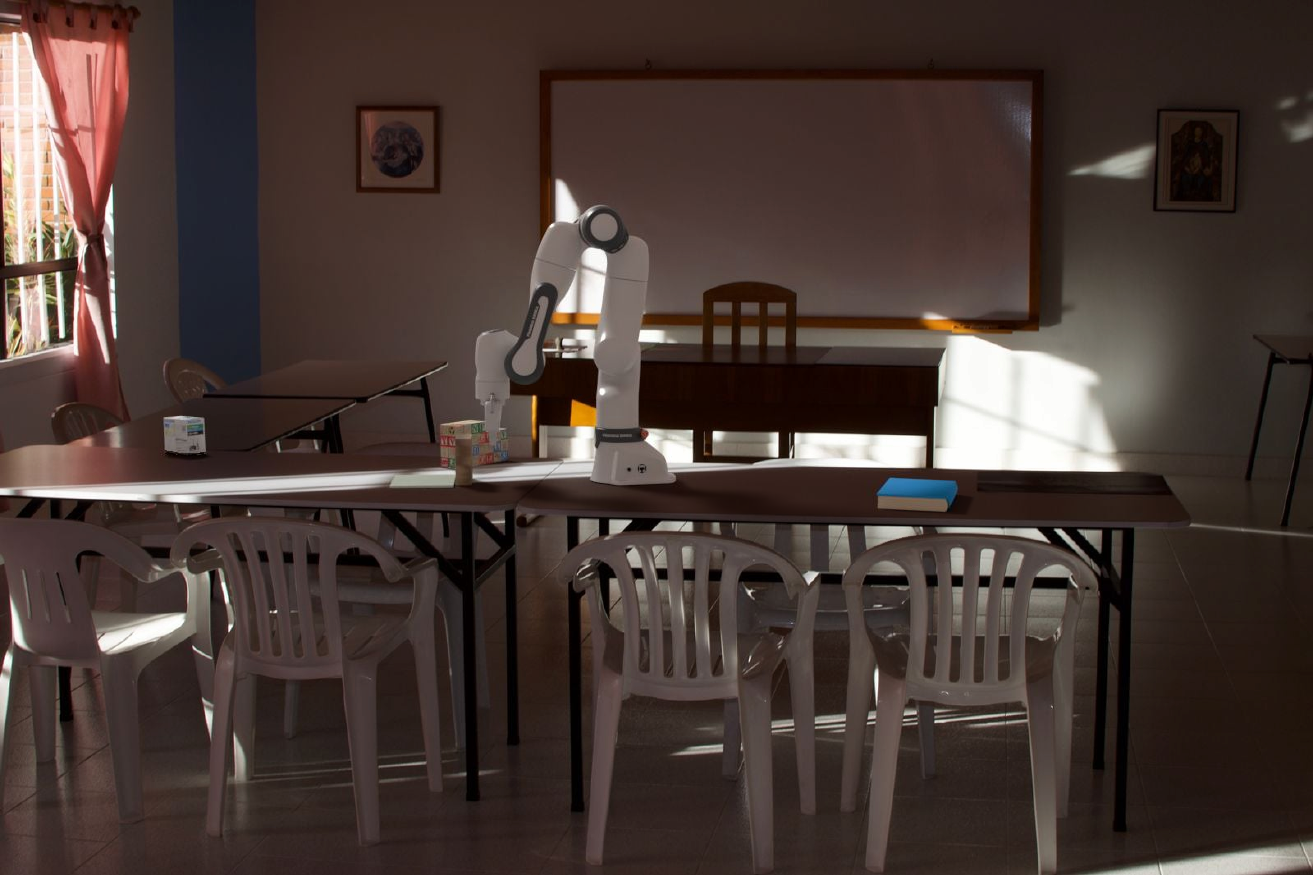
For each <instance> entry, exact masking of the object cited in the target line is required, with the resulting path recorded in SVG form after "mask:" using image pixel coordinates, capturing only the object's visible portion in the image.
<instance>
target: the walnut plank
mask: <svg viewBox="0 0 1313 875" xmlns="http://www.w3.org/2000/svg"><path fill="white" fill-rule="evenodd" d="M455 464H456V469H455V474H456V479H455V486H473V485H472V484H473V477H474V476H473V475H474V473H473V471H474V470H473V469H474V468H473V467H474V466H473V465H472V434H457V435H456V438H455Z"/></svg>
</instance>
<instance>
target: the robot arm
mask: <svg viewBox="0 0 1313 875" xmlns="http://www.w3.org/2000/svg"><path fill="white" fill-rule="evenodd" d="M591 248H592V249H596V250H601V251H603V252H604V254H605V256H606V271H605V278H604V286H603V293H602V301H601V302H602V303H601V308H600V312H599V320H598V324H597V330H596V335H595V340H594V347H593V354H592V355H593V362H594V364H595V365H596V368H597V369H598V373H597V374H598V375H597V389H596V394H595V395H596V397H595V399H596V405H595V407H596V410H595V411H596V412H595V413H596V415H595V416H596V418H595V419H596V424H595V425H596V426H594V432H593V433H594V434H593V436H594V437H593V438H594V439H593V440H594V441H593V443H594V444H593V445H594V448H595V454H594V462H593V467H592V471H591V474H590V478H589V480H590V481H591V482H592V481H593V482H595V483H601V484H609V485H614V486H630V485H631V486H632V485H633V486H635V485H636V486H637V485H657V484H660V485H661V484H673V483H674V482H676V481H677V477H676V475H675V474H674V473H672V472H670V471H669V468H668V463H667V460H666V457H665V456H664V455H663V453H662V452H660V451H659V450H658V449H657V448H655V447H654V446H653V445H651V444H650V443H649V442H648V441H646V440H647V438H648V437H649V436H650V432H649V430H647V429H644V428H642V427H641V426H639V395H640V394H639V393H640V382H641V381H640V379H641V378H640V377H641V360H642V359H641V357H642V355H641V352H642V349H641V345H640V342H639V338H640V333H641V328H642V322H643V318H644V313H645V306H646V299H647V290H648V281H649V272H650V270H649V269H650V253H649V245H648V243H646V241H645V240H643V239H642V238H640V237H639V236H634V235H630V234H629V232H628V228H627V227H626V224H625V222H624V219H623V217H622V216H621V214H620V213H619V212H618V211H617V210H616V209H615V208H613V207H612V206H609V205H604V204H597V205H594V206H591V207H590V208H588V209H586V211H584V212H583V213H582V214H580V216H579V217H578V218H577V219H576V220H575V221H574V222H572V223H571V222H568V221H563V220H561V221H555V222H552V223H551V224H550V225H549V226H548V227H547V229H546V232H545V233H544V235H543V237H542V239H541V241H540V244H539V246H538V249H537V252H536V254H535V258H534V261H533V266H532V270H531V276H530V286H529V287H530V290H529V304H528V309H527V312H526V315H525V319H524V322H523V326H522V328H521V332H520V335H519V337H517V336H516V335H513V334H512V333H510V332H509V331H508V330H507V329H505V328H497V329H491V330H487V331H483V332H481V333H480V334H479V335H478V337H477V338H476V343H475V344H476V345H475V359H474V360H475V368H476V376H475V381H474V382H475V399H476V400H480V406H484V421H485V430H486V431H489V444H490V445H496V443H497V431H499V428H501V427H500V426H501V420H502V411H503V406H505V405H506V400H509V399H510V396H511V393H510V389H511V387H510V385H511V383H510V380H511V381H512V382H513V383H515V384H516V385H517V384H518V385H523V386H527V385H531V384H533V383H536V382H537V381H538V380H539V379H540V378H541V376H542V375H543V373H544V369H545V366H546V361H547V360H546V355H545V352H544V344H545V340H546V337H547V334H548V331H549V327H550V323H551V320H552V318H553V316H554V313H555V311H556V310H557V308H558V306H559V305H560V303H561V302H562V301H563V300H564V299H565V297H566V295H567V294H568V292H569V290H570V289H571V286H572V284H573V282H574V280H575V276H576V273H577V271H578V270H577V269H578V267H579V262H580V261H581V260H580V259H581V258H582V256H583V254H584V252H585V251H586V250H588V249H591Z"/></svg>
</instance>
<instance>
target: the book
mask: <svg viewBox="0 0 1313 875" xmlns="http://www.w3.org/2000/svg"><path fill="white" fill-rule="evenodd" d="M958 489H959V488H958V485H957V482H956V480H943V479H941V480H940V479H923V478H922V479H920V478H918V479H917V478H902V477H901V478H900V477H899V478H896V477H889V478H888V480H887V481H886V482H885V483H884V484H883V486H881V488H880V489H879V491H878V492H877V493H876V496H877V509H884V510H885V509H886V510H887V509H888V510H906V511H922V512H925V511H926V512H942V513H946V512H947V511H948V508H951V505H952V503H953V501H954V499H955V498H956V495H957V493H958Z"/></svg>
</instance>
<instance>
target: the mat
mask: <svg viewBox="0 0 1313 875" xmlns="http://www.w3.org/2000/svg"><path fill="white" fill-rule="evenodd" d="M455 484H456V473H453V474H451V473H449V474H395V475H394V477H393V478H392V481H391V482H390V485H389V489H427V488H428V489H443V488H444V489H446V488H449V489H450V488H451V489H452V488H454V485H455Z"/></svg>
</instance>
